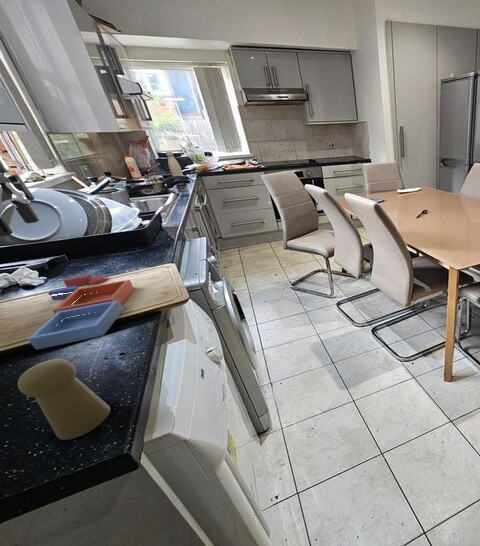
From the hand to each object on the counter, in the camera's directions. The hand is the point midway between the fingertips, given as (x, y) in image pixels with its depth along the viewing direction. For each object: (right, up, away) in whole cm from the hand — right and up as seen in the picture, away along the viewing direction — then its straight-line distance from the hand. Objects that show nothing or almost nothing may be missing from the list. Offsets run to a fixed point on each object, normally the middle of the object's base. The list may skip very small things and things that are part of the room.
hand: (20, 228), depth 70 cm
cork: (+38, -32, -23) cm, 54 cm away
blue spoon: (0, -16, +11) cm, 19 cm away
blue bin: (+16, -22, -2) cm, 27 cm away
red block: (-2, -13, +16) cm, 21 cm away
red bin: (+11, -17, +7) cm, 22 cm away
